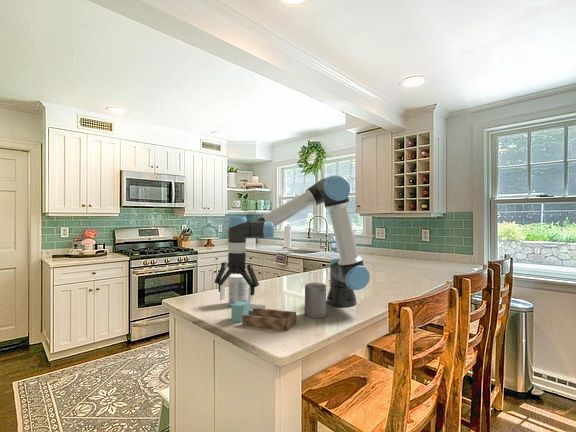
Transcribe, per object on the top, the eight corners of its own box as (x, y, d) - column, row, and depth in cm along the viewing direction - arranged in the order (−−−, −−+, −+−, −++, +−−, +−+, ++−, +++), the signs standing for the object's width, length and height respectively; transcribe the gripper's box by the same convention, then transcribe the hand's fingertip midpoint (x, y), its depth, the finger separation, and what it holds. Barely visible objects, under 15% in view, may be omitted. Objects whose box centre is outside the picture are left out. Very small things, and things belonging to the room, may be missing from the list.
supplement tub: (248, 301, 163) (248, 273, 163) (247, 307, 154) (247, 277, 154) (230, 301, 163) (230, 273, 163) (227, 307, 153) (227, 277, 153)
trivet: (265, 310, 148) (265, 305, 148) (256, 317, 138) (256, 311, 138) (246, 308, 151) (246, 303, 151) (236, 314, 141) (236, 309, 141)
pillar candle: (304, 311, 147) (304, 279, 146) (325, 311, 146) (325, 279, 146) (305, 318, 137) (305, 284, 137) (327, 319, 137) (327, 284, 136)
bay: (296, 321, 133) (296, 311, 133) (287, 330, 122) (287, 320, 122) (253, 316, 139) (253, 307, 139) (242, 324, 129) (242, 315, 129)
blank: (248, 318, 137) (248, 302, 137) (241, 322, 132) (241, 306, 131) (238, 316, 139) (238, 301, 139) (231, 321, 133) (231, 304, 133)
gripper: (266, 252, 135) (266, 301, 135) (216, 249, 143) (215, 296, 143) (259, 254, 128) (259, 306, 128) (207, 251, 136) (206, 300, 136)
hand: (236, 301), depth 136 cm, fingers open, 13 cm apart
